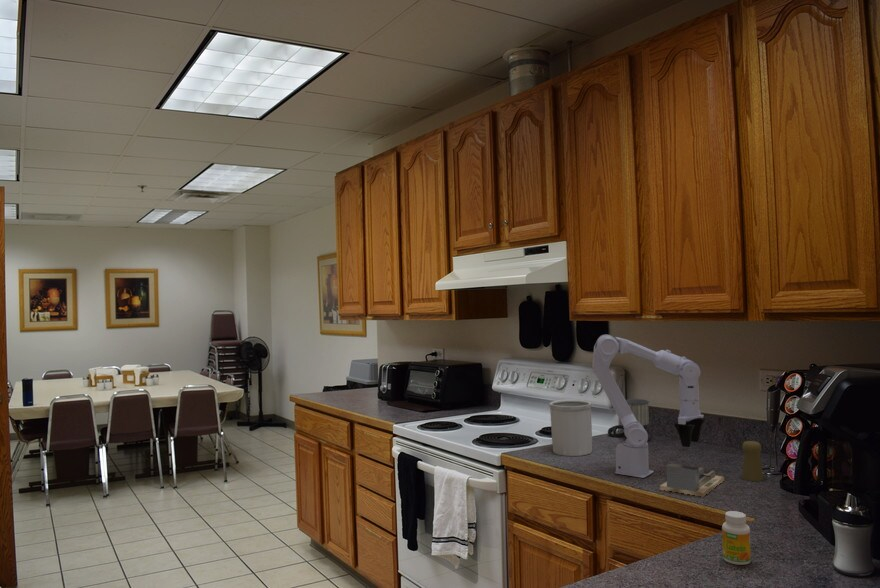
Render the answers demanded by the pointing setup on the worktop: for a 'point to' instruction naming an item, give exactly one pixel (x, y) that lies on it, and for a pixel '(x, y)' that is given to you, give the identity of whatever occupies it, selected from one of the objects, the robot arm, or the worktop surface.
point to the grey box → (682, 477)
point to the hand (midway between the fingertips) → (690, 444)
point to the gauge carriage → (702, 473)
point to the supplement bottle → (736, 538)
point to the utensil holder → (571, 427)
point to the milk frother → (640, 413)
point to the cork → (752, 461)
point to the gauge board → (704, 485)
